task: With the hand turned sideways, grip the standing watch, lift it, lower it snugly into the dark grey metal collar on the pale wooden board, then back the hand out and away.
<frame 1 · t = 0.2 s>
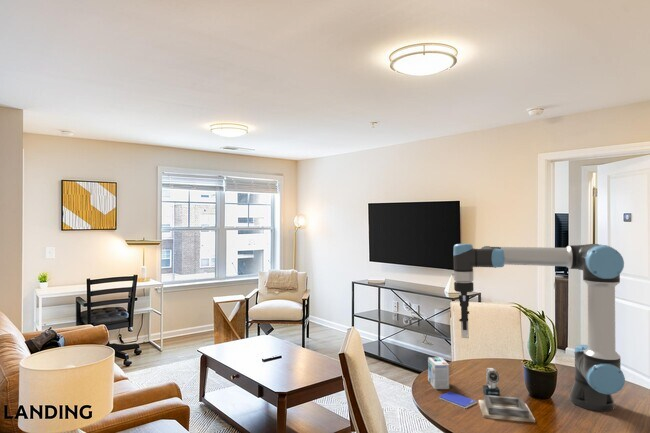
hand: (464, 333, 176), 28 cm above the table, tool pointing down, fingers open, 13 cm apart
fitting base: (505, 411, 166), on the table
light bulb box: (438, 385, 194), on the table
hard drive: (457, 402, 177), on the table
watch: (491, 395, 182), on the table
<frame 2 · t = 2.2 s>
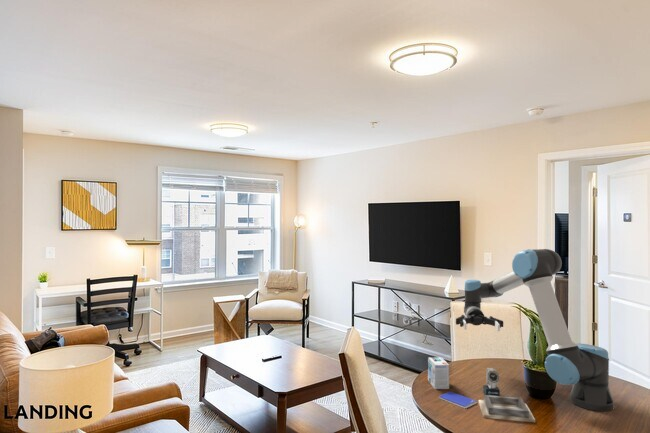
hand: (481, 327, 185), 28 cm above the table, tool horizontal, fingers open, 13 cm apart
nothing on the table moved.
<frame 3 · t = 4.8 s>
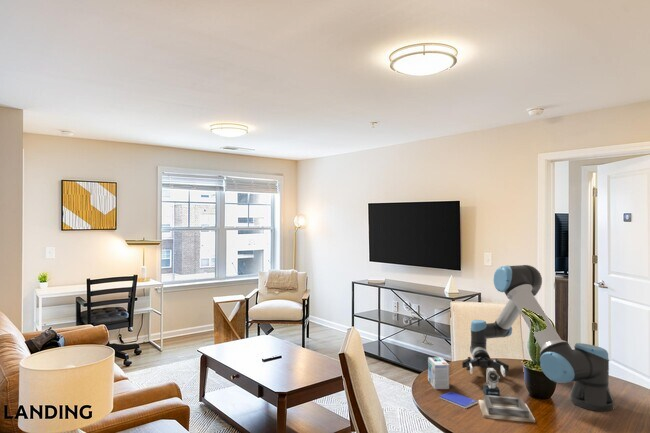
hand: (487, 372, 191), 6 cm above the table, tool horizontal, fingers open, 13 cm apart
nothing on the table moved.
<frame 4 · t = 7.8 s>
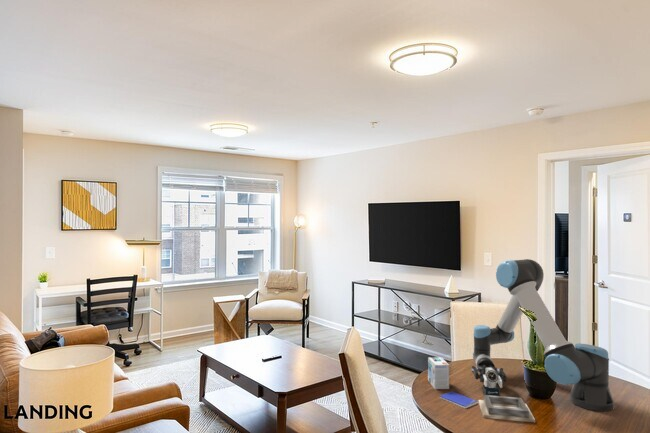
hand: (493, 383, 177), 7 cm above the table, tool horizontal, fingers closed on watch, 5 cm apart
watch: (491, 394, 182), on the table, touching gripper
everything else where it was.
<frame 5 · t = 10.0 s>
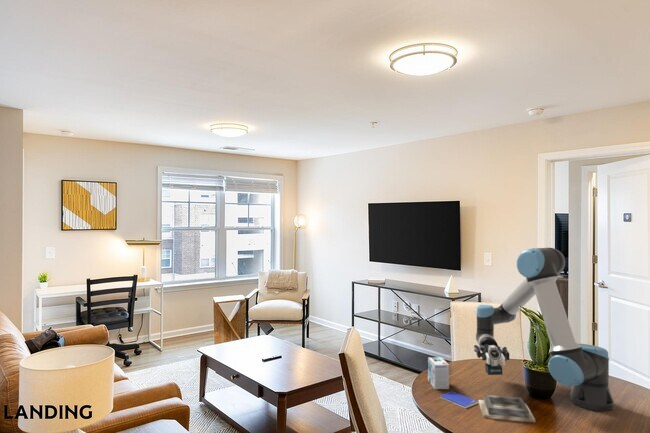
hand: (496, 361, 171), 18 cm above the table, tool horizontal, fingers closed on watch, 5 cm apart
watch: (494, 373, 176), point 11 cm above the table, touching gripper
everything else where it was.
when the fingers open (9 cm above the table, at t = 12.7 s): watch drops 2 cm, resting on fitting base.
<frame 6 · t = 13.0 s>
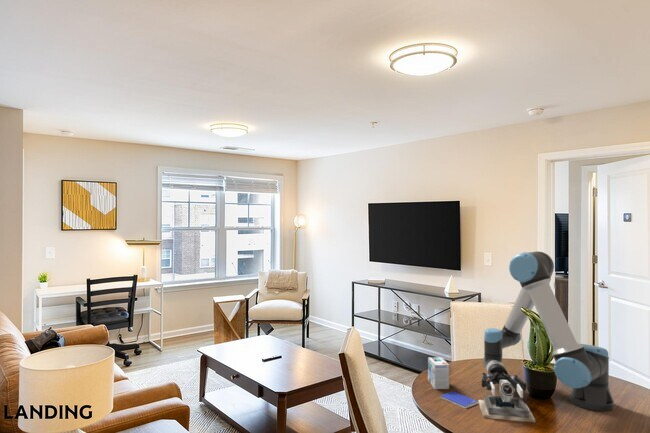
hand: (507, 393, 162), 9 cm above the table, tool horizontal, fingers open, 9 cm apart
watch: (505, 409, 166), point 1 cm above the table, touching fitting base
everything else where it was.
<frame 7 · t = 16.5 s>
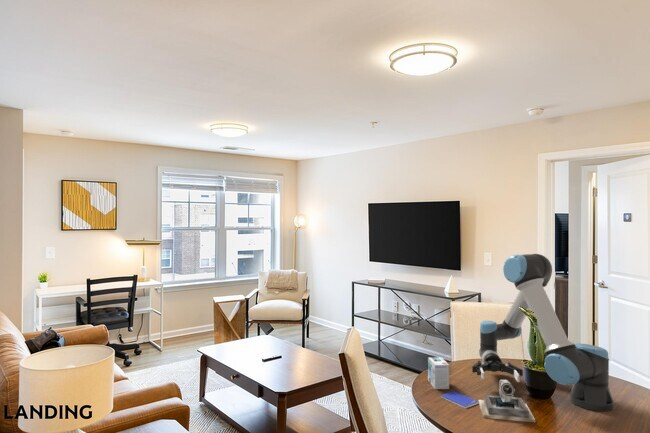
hand: (500, 377, 176), 10 cm above the table, tool horizontal, fingers open, 13 cm apart
nothing on the table moved.
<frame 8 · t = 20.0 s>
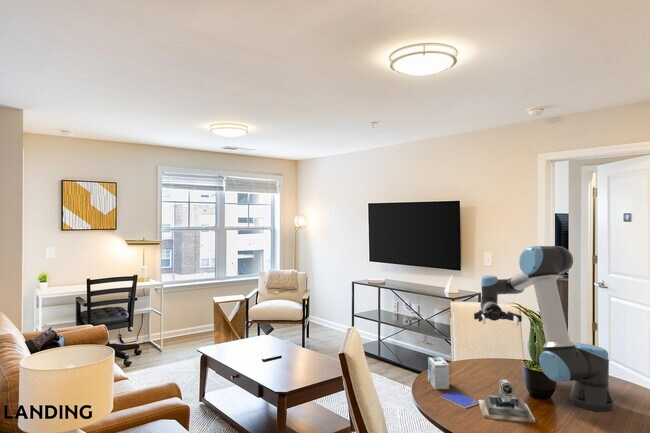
hand: (500, 321, 187), 30 cm above the table, tool horizontal, fingers open, 13 cm apart
at the end: watch 0.2 cm off-centre on the fitting base, point 0.8 cm above the fitting base's base; watch tilted 0°; the gripper is holding nothing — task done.
